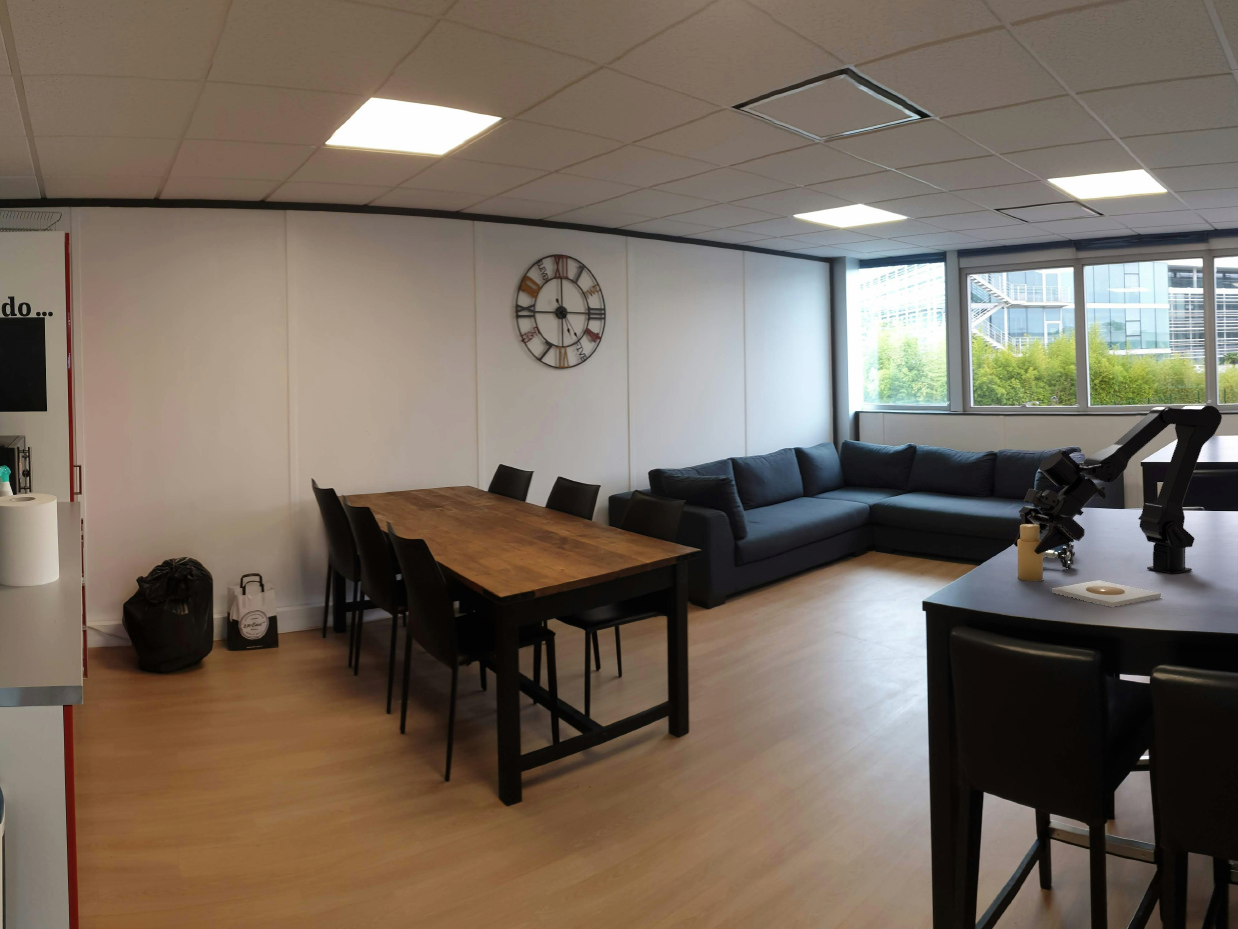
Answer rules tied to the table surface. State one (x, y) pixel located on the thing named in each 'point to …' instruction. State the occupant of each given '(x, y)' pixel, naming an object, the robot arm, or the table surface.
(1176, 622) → the table surface
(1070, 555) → the valve
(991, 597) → the table surface
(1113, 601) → the plate
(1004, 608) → the table surface
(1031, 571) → the stepped tan cylinder
